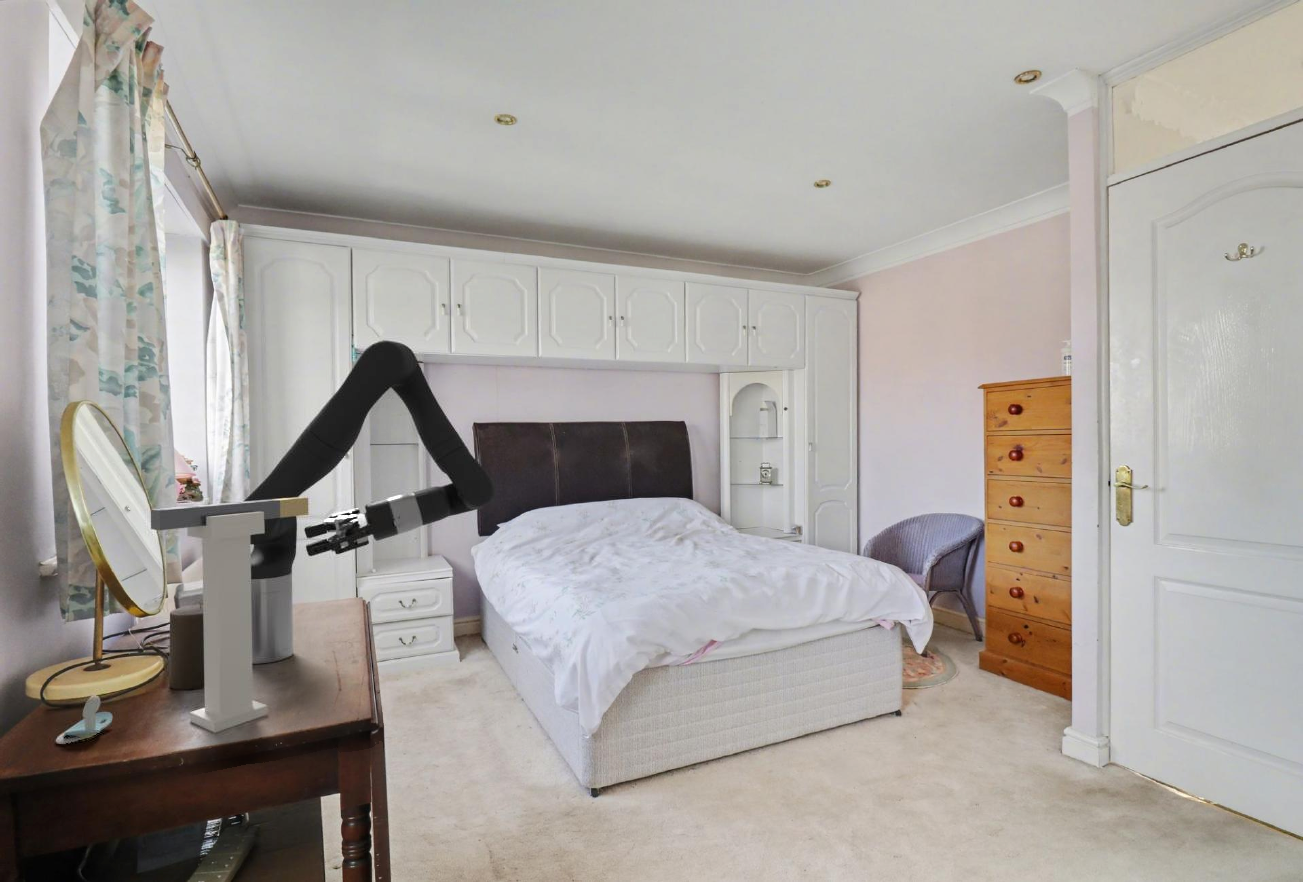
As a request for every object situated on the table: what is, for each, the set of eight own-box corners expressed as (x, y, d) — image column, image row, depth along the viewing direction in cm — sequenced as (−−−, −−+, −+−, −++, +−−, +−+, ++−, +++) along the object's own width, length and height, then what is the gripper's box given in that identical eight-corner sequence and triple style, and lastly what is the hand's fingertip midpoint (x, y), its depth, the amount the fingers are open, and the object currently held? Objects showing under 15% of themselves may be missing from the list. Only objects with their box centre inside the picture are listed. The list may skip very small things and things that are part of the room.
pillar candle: (196, 692, 122) (196, 609, 122) (156, 687, 125) (156, 605, 125) (243, 675, 131) (243, 597, 132) (204, 670, 134) (204, 594, 134)
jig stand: (190, 721, 110) (187, 514, 109) (242, 704, 116) (239, 509, 116) (214, 732, 105) (211, 517, 105) (267, 714, 112) (264, 511, 112)
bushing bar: (150, 529, 103) (150, 509, 103) (299, 513, 122) (298, 497, 122) (159, 530, 101) (159, 510, 101) (308, 514, 121) (308, 497, 121)
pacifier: (45, 750, 100) (93, 744, 102) (43, 708, 100) (90, 703, 102) (73, 730, 108) (117, 724, 109) (71, 690, 107) (115, 685, 109)
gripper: (384, 487, 140) (299, 511, 133) (395, 511, 127) (301, 539, 121) (393, 519, 142) (310, 544, 136) (404, 546, 130) (313, 575, 124)
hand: (306, 542), depth 128 cm, fingers open, 8 cm apart
